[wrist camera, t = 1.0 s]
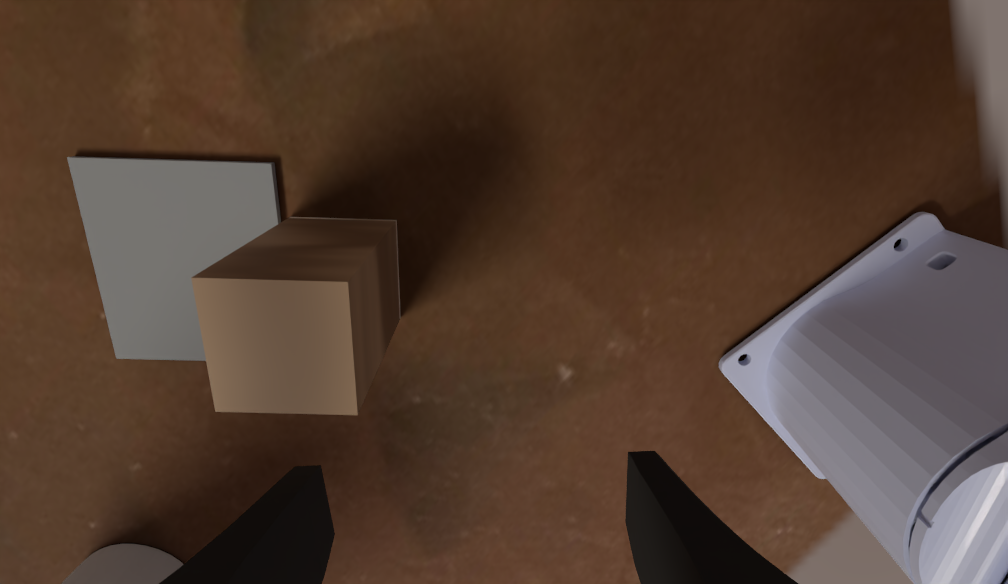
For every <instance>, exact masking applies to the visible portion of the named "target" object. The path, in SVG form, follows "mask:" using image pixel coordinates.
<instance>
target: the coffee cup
mask: <svg viewBox="0 0 1008 584" xmlns="http://www.w3.org/2000/svg"><path fill="white" fill-rule="evenodd" d="M182 565H184V564H183V563H182V562H181V561H179V560H178V559H176V558H175V557H173V556H172V555H170V554H168V553H166V552H163V551H161V550H159V549H156V548H153V547H149V546H145V545H139V544H116V545H110V546H107V547H104V548H102V549H99V550H98V551H96V552H94V553H93V554H91V555H90V556H89V557H88V558H86V559H85V560H84V561H83V562H82V563H81V564H80V565H79V566H78V567H77V568H76V569H75V570H74V571H73V572H72V573H71V574H70V575H69V576H68V577H67V578H66V579H65V580H64V581H63V582H62V583H61V584H159V583H160V582H161V581H163V580H164V579H166V578H167V577H168V576H169V575H171V574H172V573H173V572H175V571H176V570H177V569H179V568H180V567H181V566H182Z"/></svg>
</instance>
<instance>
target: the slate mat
mask: <svg viewBox="0 0 1008 584" xmlns="http://www.w3.org/2000/svg"><path fill="white" fill-rule="evenodd" d="M67 159H68V163H69V167H70V171H71V175H72V179H73V183H74V187H75V192H76V196H77V200H78V204H79V208H80V212H81V216H82V220H83V224H84V228H85V232H86V237H87V241H88V245H89V249H90V253H91V257H92V261H93V265H94V269H95V273H96V277H97V281H98V286H99V290H100V294H101V298H102V302H103V306H104V310H105V314H106V318H107V322H108V326H109V331H110V335H111V339H112V343H113V347H114V351H115V355H116V359H155V360H195V361H206V357H205V351H204V346H203V340H202V335H201V329H200V324H199V318H198V313H197V307H196V301H195V296H194V290H193V285H192V279H191V277H193V276H195V275H196V274H198V273H200V272H201V271H203V270H205V269H206V268H208V267H209V266H211V265H213V264H214V263H216V262H218V261H219V260H221V259H222V258H224V257H226V256H227V255H229V254H231V253H232V252H234V251H235V250H237V249H239V248H240V247H242V246H244V245H245V244H247V243H248V242H250V241H252V240H253V239H255V238H257V237H258V236H260V235H261V234H263V233H265V232H266V231H268V230H270V229H271V228H273V227H274V226H276V225H278V224H279V223H281V216H280V208H279V199H278V190H277V181H276V173H275V164H274V163H272V162H240V161H207V160H175V159H142V158H110V157H77V156H73V157H67Z"/></svg>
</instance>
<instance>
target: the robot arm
mask: <svg viewBox="0 0 1008 584" xmlns="http://www.w3.org/2000/svg"><path fill="white" fill-rule="evenodd" d="M900 238H901V243H900V245H899V246H898V247H897V248H894V244H895V242H896V241H897V240H898V239H900ZM743 354H747V357H746V358H745V359H744V360H743V361H738V358H739V357H740V356H741V355H743ZM719 368H720V370H721V372H722V373H723V374H724V375H725V376H726V378H727V379H728V380H729V381H730V382H731V383H732V384H733V385H734V386H735V388H736V389H737V390H738V391H739V392H740V393H741V394H742V395H743V396H744V397H745V399H746V400H747V401H748V402H749V403H750V404H751V405H752V406H753V407H754V409H755V410H756V411H757V412H758V413H759V414H760V415H761V416H762V417H763V418H764V420H765V421H766V422H767V423H768V424H769V425H770V426H771V427H772V428H773V430H774V431H775V432H776V433H777V434H778V435H779V436H780V437H781V438H782V440H783V441H784V442H785V443H786V444H787V445H788V446H789V447H790V448H791V449H792V451H793V452H794V453H795V454H796V455H797V456H798V457H799V458H800V459H801V461H802V462H803V463H804V464H805V465H806V466H807V467H808V468H809V469H810V470H811V472H812V473H813V474H814V475H815V476H816V477H818V478H820V479H827V480H828V481H829V482H830V483H831V485H832V486H833V487H834V488H835V489H836V491H837V492H838V493H839V494H840V495H841V497H842V498H843V499H844V500H845V501H846V503H847V504H848V505H849V506H850V507H851V509H852V510H853V511H854V512H855V513H856V515H857V516H858V517H859V518H860V519H861V521H862V522H863V523H864V524H865V525H866V527H867V528H868V529H869V530H870V531H871V533H872V534H873V535H874V536H875V538H876V539H877V540H878V541H879V542H880V544H881V545H882V546H883V547H884V548H885V550H886V551H887V552H888V553H889V554H890V556H891V557H892V558H893V559H894V560H895V562H896V563H897V564H898V565H899V566H900V568H901V569H902V570H903V571H904V572H905V574H906V575H907V576H908V577H909V579H910V580H911V581H912V582H913V583H914V584H1008V250H1007V249H1004V248H1001V247H998V246H994V245H991V244H988V243H985V242H982V241H979V240H976V239H973V238H970V237H966V236H963V235H960V234H957V233H954V232H951V231H948V230H945V229H944V227H943V226H942V224H941V223H940V221H939V220H938V218H937V217H936V216H935V215H934V214H930V213H927V212H917V213H915V214H913V215H912V216H910V217H909V218H908V219H906V220H905V221H904V222H902V223H901V224H900V225H898V226H897V227H896V228H894V229H893V230H892V231H890V232H889V233H888V234H886V235H885V236H884V237H882V238H881V239H880V240H878V241H877V242H876V243H874V244H873V245H871V246H870V247H869V248H867V249H866V250H865V251H863V252H862V253H861V254H859V255H858V256H857V257H855V258H854V259H853V260H851V261H850V262H849V263H847V264H846V265H845V266H843V267H842V268H841V269H839V270H838V271H837V272H835V273H834V274H833V275H831V276H830V277H829V278H827V279H826V280H825V281H823V282H822V283H821V284H819V285H818V286H816V287H815V288H814V289H812V290H811V291H810V292H808V293H807V294H806V295H804V296H803V297H802V298H800V299H799V300H798V301H796V302H795V303H794V304H792V305H791V306H790V307H788V308H787V309H786V310H784V311H783V312H782V313H780V314H779V315H778V316H776V317H775V318H774V319H772V320H771V321H770V322H768V323H767V324H766V325H764V326H763V327H761V328H760V329H759V330H757V331H756V332H755V333H753V334H752V335H751V336H749V337H748V338H747V339H745V340H744V341H743V342H741V343H740V344H739V345H737V346H736V347H735V348H733V349H732V350H731V351H729V352H728V353H727V354H725V355H724V356H723V357H722V358H721V359H720V362H719ZM626 526H627V531H628V536H629V540H630V545H631V550H632V554H633V559H634V563H635V567H636V570H637V573H638V576H639V579H640V582H641V584H798V583H797V582H795V581H794V580H793V579H791V578H790V577H788V576H787V575H786V574H784V573H783V572H782V571H781V570H779V569H778V568H777V567H775V566H774V565H773V564H771V563H770V562H769V561H768V560H766V559H765V558H764V557H762V556H761V555H760V554H759V553H757V552H756V551H755V550H754V549H753V548H751V547H750V546H749V545H748V544H747V543H746V542H744V541H743V540H742V539H741V538H740V537H739V536H738V535H737V534H735V533H734V532H733V531H732V530H731V529H730V528H729V527H728V526H727V525H726V524H725V523H723V522H722V521H721V520H720V519H719V518H718V517H717V516H716V515H715V514H714V513H713V512H712V511H711V510H710V509H709V508H708V507H707V506H706V505H705V504H704V503H703V502H702V501H701V500H700V499H699V498H698V497H697V496H696V495H695V494H694V493H693V492H692V491H691V490H690V489H689V488H688V486H687V485H686V484H685V483H684V482H683V481H682V480H681V479H680V478H679V477H678V476H677V475H676V474H675V472H674V471H673V470H672V469H671V468H670V467H669V466H668V465H667V464H666V462H665V461H664V460H663V459H662V458H661V457H660V456H659V455H658V454H657V453H656V452H655V451H639V452H628V469H627V497H626ZM334 535H335V533H334V528H333V523H332V518H331V513H330V508H329V503H328V498H327V494H326V489H325V484H324V479H323V474H322V469H321V465H319V466H296V467H294V468H293V469H292V470H291V471H289V472H288V473H287V474H286V475H285V476H284V477H283V478H282V479H280V480H279V481H278V482H277V483H276V484H275V485H274V486H273V487H272V488H271V489H270V490H269V491H268V492H266V493H265V494H264V495H263V496H262V497H261V498H260V499H259V500H258V501H257V502H256V503H255V504H253V505H252V506H251V507H250V508H249V509H248V510H247V511H246V512H245V513H244V514H242V515H241V516H240V517H239V518H238V519H237V520H236V521H235V522H234V523H233V524H231V525H230V526H229V527H228V528H227V529H226V530H225V531H223V532H222V533H221V534H220V535H219V536H217V537H216V538H215V539H214V540H213V541H211V542H210V543H209V544H208V545H207V546H205V547H204V548H203V549H202V550H201V551H200V552H198V553H197V554H196V555H195V556H194V557H192V558H191V559H190V560H189V561H188V562H186V563H185V564H184V565H182V566H181V567H180V568H179V569H177V570H176V571H175V572H173V573H172V574H171V575H169V576H168V577H167V578H166V579H164V580H163V581H161V582H160V583H159V584H322V581H323V578H324V575H325V571H326V567H327V563H328V560H329V556H330V551H331V547H332V543H333V539H334Z"/></svg>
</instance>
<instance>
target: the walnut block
mask: <svg viewBox="0 0 1008 584" xmlns="http://www.w3.org/2000/svg"><path fill="white" fill-rule="evenodd" d="M191 279H192V285H193V290H194V296H195V301H196V307H197V313H198V318H199V324H200V329H201V335H202V340H203V346H204V351H205V357H206V363H207V368H208V374H209V379H210V385H211V390H212V396H213V401H214V407H215V412H246V413H288V414H329V415H358V413H359V411H360V409H361V407H362V404H363V402H364V400H365V397H366V395H367V393H368V391H369V388H370V386H371V384H372V381H373V379H374V377H375V375H376V372H377V370H378V368H379V366H380V363H381V361H382V359H383V356H384V354H385V352H386V350H387V347H388V345H389V343H390V340H391V338H392V336H393V334H394V331H395V329H396V327H397V324H398V322H399V320H400V318H401V316H400V290H399V265H398V239H397V220H380V219H346V218H312V217H289V218H288V219H286V220H284V221H283V222H281V223H279V224H278V225H276V226H274V227H273V228H271V229H270V230H268V231H266V232H265V233H263V234H261V235H260V236H258V237H257V238H255V239H253V240H252V241H250V242H248V243H247V244H245V245H244V246H242V247H240V248H239V249H237V250H235V251H234V252H232V253H231V254H229V255H227V256H226V257H224V258H222V259H221V260H219V261H218V262H216V263H214V264H213V265H211V266H209V267H208V268H206V269H205V270H203V271H201V272H200V273H198V274H196V275H195V276H193V277H191Z"/></svg>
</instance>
